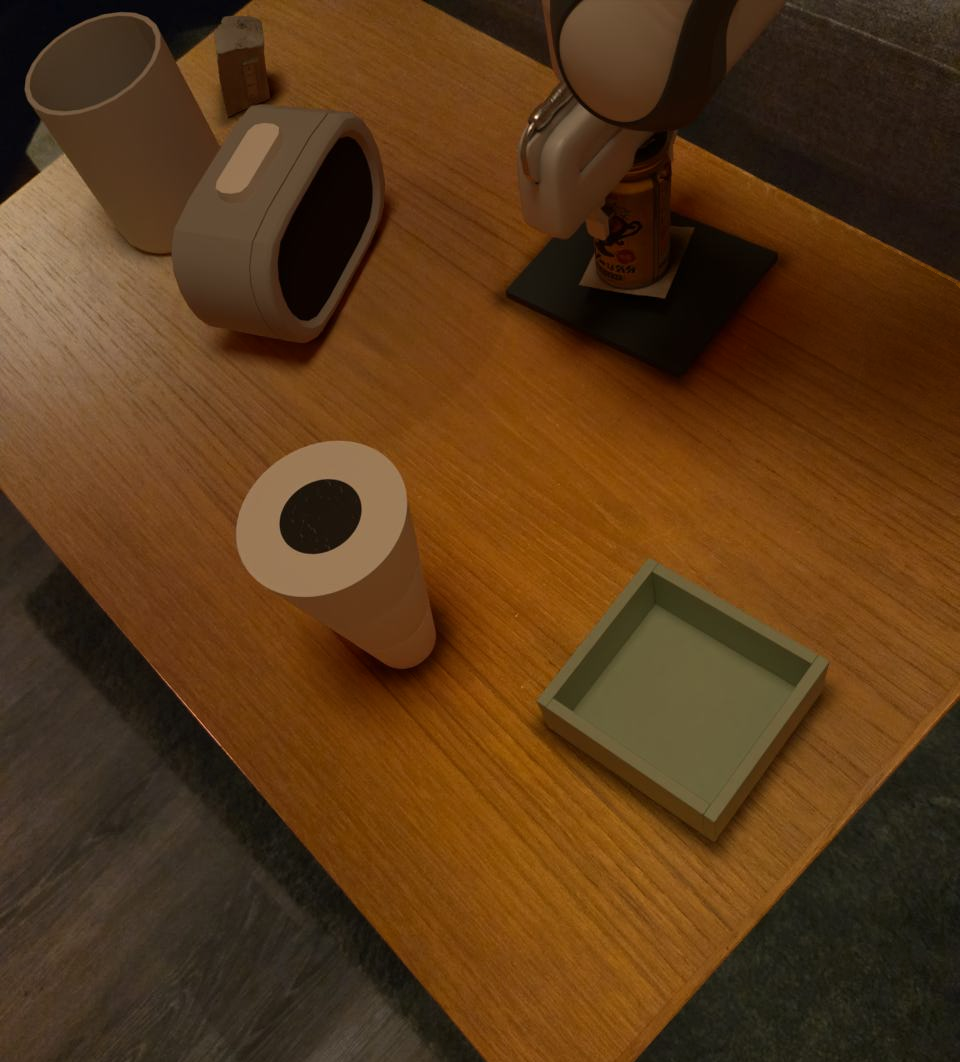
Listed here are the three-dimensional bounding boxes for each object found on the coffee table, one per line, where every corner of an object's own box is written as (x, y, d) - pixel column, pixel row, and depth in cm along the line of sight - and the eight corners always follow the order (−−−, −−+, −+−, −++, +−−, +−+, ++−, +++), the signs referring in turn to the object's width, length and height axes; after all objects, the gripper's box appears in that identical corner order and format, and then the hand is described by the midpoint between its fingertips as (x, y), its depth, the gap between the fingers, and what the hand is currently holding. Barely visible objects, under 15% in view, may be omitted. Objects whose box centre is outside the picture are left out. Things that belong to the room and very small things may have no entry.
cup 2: (386, 734, 71) (291, 631, 55) (312, 634, 76) (206, 513, 60) (502, 645, 72) (442, 519, 56) (422, 551, 77) (346, 410, 61)
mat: (777, 259, 81) (778, 252, 80) (679, 379, 78) (679, 373, 78) (601, 190, 89) (600, 183, 88) (506, 297, 86) (505, 290, 85)
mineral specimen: (230, 132, 102) (189, 53, 96) (226, 99, 108) (188, 22, 101) (294, 104, 101) (258, 22, 95) (287, 72, 107) (252, -8, 101)
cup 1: (147, 278, 97) (49, 138, 82) (91, 181, 105) (-7, 39, 91) (260, 211, 97) (182, 59, 83) (195, 119, 105) (114, -32, 91)
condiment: (578, 286, 81) (569, 153, 70) (611, 219, 84) (606, 82, 74) (664, 301, 79) (668, 165, 68) (694, 230, 82) (702, 91, 72)
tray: (821, 692, 66) (830, 660, 61) (714, 842, 63) (714, 822, 58) (653, 592, 71) (648, 556, 66) (548, 727, 69) (535, 700, 64)
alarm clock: (310, 374, 87) (246, 261, 75) (222, 357, 90) (147, 245, 78) (400, 203, 93) (354, 73, 81) (315, 192, 97) (259, 66, 85)
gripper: (556, 147, 60) (583, 306, 72) (745, -59, 64) (740, 125, 77) (479, 117, 63) (517, 276, 75) (664, -79, 67) (672, 102, 79)
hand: (631, 198), depth 76 cm, fingers closed on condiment, 6 cm apart
